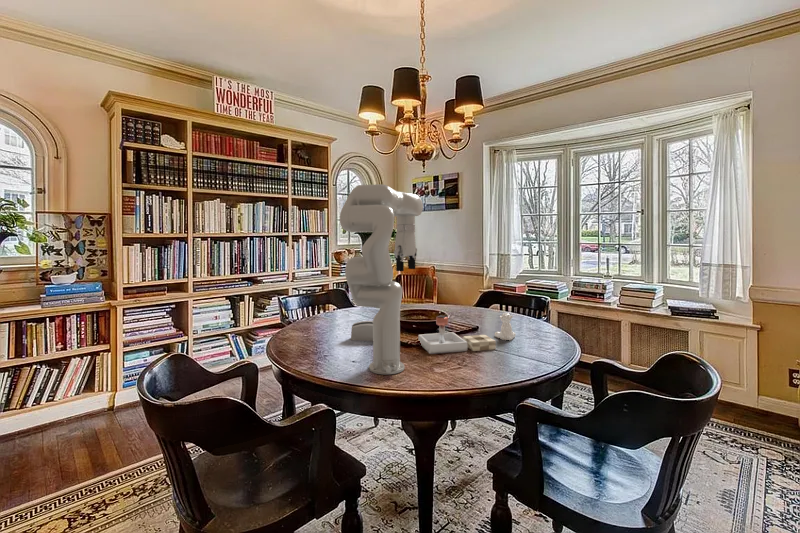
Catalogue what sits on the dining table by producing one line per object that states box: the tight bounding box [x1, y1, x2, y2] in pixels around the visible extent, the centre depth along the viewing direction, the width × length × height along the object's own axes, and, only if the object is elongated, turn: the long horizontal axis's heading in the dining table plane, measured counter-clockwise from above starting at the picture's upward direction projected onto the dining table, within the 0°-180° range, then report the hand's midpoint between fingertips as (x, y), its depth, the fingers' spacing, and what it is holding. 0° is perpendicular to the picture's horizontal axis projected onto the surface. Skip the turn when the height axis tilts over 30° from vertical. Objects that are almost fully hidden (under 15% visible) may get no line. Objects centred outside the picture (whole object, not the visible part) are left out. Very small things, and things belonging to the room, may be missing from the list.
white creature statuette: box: [494, 312, 516, 341], centre depth 178 cm, size 10×9×12 cm
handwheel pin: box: [435, 314, 449, 344], centre depth 167 cm, size 5×5×12 cm
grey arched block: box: [350, 320, 373, 342], centre depth 178 cm, size 17×5×10 cm, turn 87°
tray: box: [418, 331, 468, 355], centre depth 167 cm, size 16×16×4 cm
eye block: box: [462, 334, 497, 352], centre depth 167 cm, size 10×10×4 cm
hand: (406, 269), depth 167 cm, fingers open, 9 cm apart
